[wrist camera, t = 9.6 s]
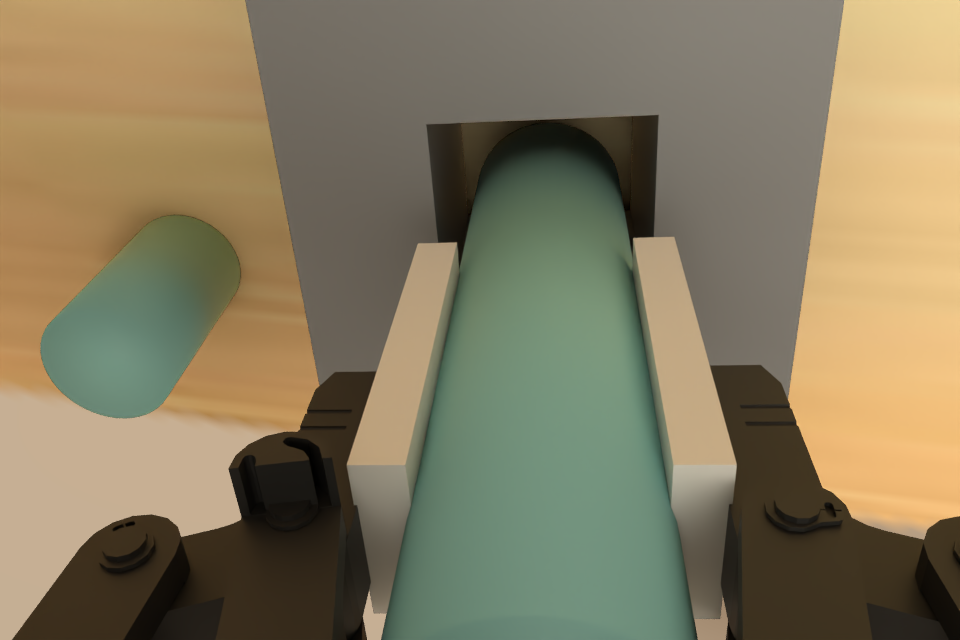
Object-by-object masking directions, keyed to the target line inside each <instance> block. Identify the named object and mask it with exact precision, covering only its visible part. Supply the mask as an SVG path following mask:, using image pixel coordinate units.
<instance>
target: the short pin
mask: <svg viewBox="0 0 960 640" xmlns="http://www.w3.org/2000/svg"><path fill="white" fill-rule="evenodd" d="M240 277H241V270H240V264H239V260H238V257H237V255H236V253H235V251H234V249H233V247H232V246H231V244H230V243H229V242H228V240H227V239H226V238H225V237H224V236H223V235H222V234H221V233H220V232H219V231H217V230H216V229H215V228H213V227H212V226H210V225H209V224H207V223H205V222H203V221H201V220H198V219H196V218H192V217H188V216H182V215H170V216H164V217H160V218H157V219H155V220H153V221H151V222H150V223H148V224H147V225H146V226H144V227H143V228H142V229H141V230H140V231H139V233H138V234H137V235H136V236H135V237H134V238H133V239H132V240H131V241H130V242H129V243H128V244H127V245H126V246H125V247H124V248H123V249H122V250H121V251H120V252H119V253H118V254H117V255H116V256H115V257H114V258H113V259H112V260H111V261H110V262H109V263H108V264H107V265H106V266H105V267H104V268H103V269H102V270H101V271H100V272H99V273H98V274H97V275H96V276H95V277H94V278H93V279H92V280H91V281H90V282H89V283H88V284H87V286H86V287H85V288H84V289H83V290H82V291H81V292H80V293H79V294H78V295H77V296H76V297H75V298H74V299H73V300H72V301H71V302H70V303H69V304H68V305H67V306H66V307H65V308H64V309H63V310H62V311H61V312H60V313H59V314H58V315H57V316H56V317H55V318H54V319H53V320H52V321H51V322H50V324H49V325H48V326H47V327H46V329H45V331H44V333H43V336H42V339H41V358H42V361H43V365H44V367H45V370H46V372H47V374H48V375H49V377H50V379H51V380H52V382H53V383H54V384H55V385H56V387H57V388H58V389H59V390H60V391H61V392H62V393H63V394H64V395H65V396H67V397H68V398H69V399H70V400H72V401H73V402H75V403H76V404H78V405H79V406H81V407H83V408H85V409H87V410H89V411H91V412H94V413H97V414H100V415H103V416H108V417H113V418H134V417H139V416H143V415H146V414H148V413H150V412H152V411H154V410H155V409H157V408H158V407H159V406H160V405H161V404H162V403H163V402H164V401H165V399H166V398H167V397H168V395H169V394H170V392H171V390H172V389H173V387H174V386H175V384H176V383H177V381H178V380H179V378H180V377H181V375H182V374H183V372H184V371H185V369H186V368H187V366H188V365H189V363H190V362H191V360H192V359H193V357H194V356H195V354H196V352H197V351H198V349H199V348H200V346H201V345H202V343H203V342H204V340H205V339H206V337H207V336H208V334H209V333H210V331H211V330H212V328H213V327H214V325H215V324H216V322H217V321H218V319H219V318H220V316H221V315H222V313H223V311H224V310H225V308H226V307H227V305H228V304H229V302H230V301H231V299H232V298H233V296H234V295H235V293H236V291H237V289H238V287H239V283H240Z"/></svg>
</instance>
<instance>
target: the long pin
mask: <svg viewBox="0 0 960 640" xmlns="http://www.w3.org/2000/svg"><path fill="white" fill-rule="evenodd" d="M632 265H633V258H632V252H631V246H630V241H629V235H628V229H627V223H626V217H625V211H624V205H623V200H622V194H621V188H620V182H619V177H618V172H617V169H616V166H615V164H614V162H613V160H612V158H611V156H610V155H609V153H608V152H607V150H606V149H605V148H604V147H603V146H602V145H601V144H600V143H599V142H598V141H597V140H596V139H595V138H593V137H592V136H591V135H589V134H587V133H586V132H584V131H582V130H580V129H577V128H575V127H572V126H568V125H564V124H558V123H542V124H535V125H531V126H527V127H524V128H521V129H519V130H517V131H515V132H513V133H511V134H509V135H508V136H507V137H505V138H504V139H502V140H501V141H500V142H499V143H498V144H497V145H496V146H495V147H494V148H493V150H492V151H491V152H490V153H489V155H488V156H487V158H486V160H485V162H484V164H483V166H482V168H481V172H480V175H479V179H478V184H477V189H476V194H475V198H474V203H473V208H472V213H471V217H470V222H469V227H468V232H467V236H466V241H465V246H464V250H463V255H462V260H461V265H460V269H459V272H460V275H459V280H458V284H457V289H456V294H455V299H454V304H453V308H452V313H451V318H450V323H449V327H448V332H447V337H446V342H445V347H444V351H443V356H442V361H441V366H440V370H439V375H438V380H437V385H436V390H435V394H434V399H433V404H432V409H431V413H430V418H429V423H428V428H427V432H426V437H425V442H424V447H423V452H422V456H421V461H420V466H419V471H418V475H417V480H416V485H415V490H414V495H413V499H412V504H411V507H410V510H409V514H408V517H407V520H406V525H405V530H404V534H403V539H402V544H401V549H400V553H399V558H398V563H397V567H396V572H395V577H394V582H393V586H392V591H391V596H390V601H389V605H388V610H387V615H386V619H385V625H384V629H383V634H382V639H381V640H698V639H697V633H696V627H695V622H694V615H693V609H692V604H691V598H690V592H689V586H688V580H687V574H686V568H685V563H684V557H683V551H682V545H681V539H680V534H679V529H678V524H677V520H676V518H675V515H674V513H673V510H672V508H671V504H670V498H669V492H668V486H667V480H666V474H665V468H664V461H663V455H662V449H661V443H660V437H659V431H658V425H657V419H656V413H655V407H654V400H653V394H652V388H651V382H650V376H649V370H648V364H647V358H646V352H645V346H644V339H643V333H642V327H641V321H640V315H639V309H638V303H637V297H636V291H635V284H634V278H633V272H632Z"/></svg>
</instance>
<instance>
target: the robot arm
mask: <svg viewBox="0 0 960 640" xmlns="http://www.w3.org/2000/svg"><path fill="white" fill-rule="evenodd" d="M632 272H633V278H634V284H635V291H636V297H637V303H638V309H639V315H640V321H641V327H642V333H643V339H644V346H645V352H646V358H647V364H648V370H649V376H650V382H651V388H652V394H653V400H654V407H655V413H656V419H657V425H658V431H659V437H660V443H661V449H662V455H663V461H664V468H665V474H666V480H667V486H668V492H669V498H670V504H671V508H672V510H673V513H674V515H675V518H676V520H677V524H678V529H679V534H680V539H681V545H682V551H683V557H684V563H685V568H686V574H687V580H688V586H689V592H690V598H691V604H692V609H693V615H694V619H720V616H721V606H722V597H723V598H724V602H725V607H726V612H727V617H728V626H727V636H726V640H960V516H959V517H953V518H948V519H943V520H940V521H938V522H937V523H936V524H934V525H933V526H931V527H930V528H929V529H928V530H927V533H926V536H925V539H924V540H922V539H918V538H914V537H909V536H905V535H901V534H896V533H892V532H888V531H884V530H881V529H877V528H874V527H871V526H868V525H866V524H863V523H861V522H859V521H857V520H855V519H853V518H852V517H851V515H850V513H849V511H848V509H847V507H846V505H845V504H844V503H843V502H842V501H841V500H840V499H839V498H837V497H836V496H835V495H834V494H833V493H832V492H830V491H828V490H826V489H824V488H822V486H821V483H820V480H819V478H818V475H817V473H816V470H815V468H814V465H813V463H812V460H811V458H810V455H809V452H808V450H807V447H806V445H805V442H804V440H803V437H802V435H801V432H800V429H799V427H798V426H797V425H796V419H795V417H794V414H793V412H792V409H791V408H790V404H789V401H788V399H787V396H786V394H785V391H784V389H783V386H782V384H781V382H779V381H778V380H777V379H776V378H775V377H774V376H773V375H772V374H770V373H769V372H768V371H767V370H766V369H765V368H764V367H763V366H762V365H709V361H708V358H707V354H706V351H705V347H704V343H703V340H702V336H701V332H700V329H699V325H698V321H697V318H696V314H695V311H694V307H693V303H692V300H691V296H690V292H689V289H688V285H687V281H686V278H685V274H684V271H683V267H682V263H681V260H680V256H679V252H678V249H677V245H676V241H675V238H674V237H646V238H633V265H632ZM459 275H460V272H459V260H458V249H457V242H455V243H418V245H417V248H416V251H415V254H414V257H413V260H412V263H411V267H410V270H409V273H408V276H407V279H406V282H405V285H404V288H403V291H402V295H401V298H400V301H399V304H398V307H397V310H396V313H395V316H394V319H393V323H392V326H391V329H390V332H389V335H388V338H387V341H386V344H385V347H384V350H383V354H382V357H381V360H380V363H379V366H378V369H377V371H369V372H334V373H333V374H332V375H331V376H330V377H329V378H328V379H327V380H326V381H325V382H323V383H322V384H321V385H320V386H319V387H318V388H317V389H316V390H315V392H314V395H313V397H312V400H311V402H310V404H309V407H308V409H307V414H305V416H304V419H303V421H302V423H301V426H300V430H299V431H298V432H282V433H278V434H273V435H269V436H265V437H263V438H261V439H259V440H257V441H255V442H253V443H251V444H249V445H247V446H246V448H244V449H243V450H242V451H240V452H239V453H238V454H237V455H236V456H235V458H234V460H233V461H232V463H231V465H230V467H229V472H230V476H231V479H232V483H233V487H234V491H235V494H236V498H237V502H238V505H239V509H240V513H241V516H242V518H241V520H240V521H238V522H236V523H234V524H231V525H228V526H225V527H221V528H218V529H214V530H210V531H206V532H201V533H197V534H193V535H189V536H184V537H181V536H180V533H179V529H178V527H177V526H176V525H175V524H173V522H171V521H170V520H169V519H168V518H164V517H160V516H156V515H141V516H132V517H129V518H126V519H123V520H120V521H116V522H114V523H112V524H110V525H108V526H106V527H105V528H103V529H101V530H100V531H98V532H96V533H95V534H94V535H93V536H92V537H90V538H89V539H88V541H86V543H84V545H82V546H81V548H80V549H79V550H78V552H77V553H76V554H75V556H74V557H73V558H72V560H71V561H70V562H69V564H68V565H67V566H66V568H65V569H64V570H63V572H62V573H61V574H60V576H59V577H58V578H57V580H56V581H55V583H54V584H53V585H52V587H51V588H50V589H49V591H48V592H47V593H46V595H45V596H44V597H43V599H42V600H41V602H40V603H39V604H38V606H37V607H36V608H35V610H34V611H33V612H32V614H31V615H30V616H29V618H28V619H27V620H26V622H25V623H24V625H23V626H22V627H21V629H20V630H19V631H18V633H17V634H16V635H15V637H14V638H13V639H12V640H367V637H366V632H365V626H364V622H363V613H364V608H365V604H366V600H367V596H368V592H369V590H370V596H371V601H372V607H373V612H374V613H387V610H388V605H389V601H390V596H391V591H392V586H393V582H394V577H395V572H396V567H397V563H398V558H399V553H400V549H401V544H402V539H403V534H404V530H405V525H406V520H407V517H408V514H409V510H410V507H411V504H412V499H413V495H414V490H415V485H416V480H417V475H418V471H419V466H420V461H421V456H422V452H423V447H424V442H425V437H426V432H427V428H428V423H429V418H430V413H431V409H432V404H433V399H434V394H435V390H436V385H437V380H438V375H439V370H440V366H441V361H442V356H443V351H444V347H445V342H446V337H447V332H448V327H449V323H450V318H451V313H452V308H453V304H454V299H455V294H456V289H457V284H458V280H459Z"/></svg>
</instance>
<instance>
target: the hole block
mask: <svg viewBox="0 0 960 640" xmlns="http://www.w3.org/2000/svg"><path fill="white" fill-rule="evenodd" d="M245 1H246V6H247V12H248V17H249V22H250V27H251V32H252V37H253V43H254V48H255V53H256V58H257V63H258V69H259V74H260V79H261V84H262V89H263V94H264V100H265V105H266V110H267V115H268V120H269V126H270V131H271V136H272V141H273V146H274V152H275V157H276V162H277V167H278V172H279V177H280V183H281V188H282V193H283V198H284V203H285V209H286V214H287V219H288V224H289V229H290V234H291V240H292V245H293V250H294V255H295V260H296V266H297V271H298V276H299V281H300V286H301V292H302V297H303V302H304V307H305V312H306V317H307V323H308V328H309V333H310V338H311V343H312V349H313V354H314V359H315V364H316V369H317V374H318V380H319V385H321V384H322V383H323V382H325V381H326V380H327V379H328V378H329V377H330V376H331V375H332V374H333V373H334V372H369V371H377V369H378V366H379V363H380V360H381V357H382V354H383V350H384V347H385V344H386V341H387V338H388V335H389V332H390V329H391V326H392V323H393V319H394V316H395V313H396V310H397V307H398V304H399V301H400V298H401V295H402V291H403V288H404V285H405V282H406V279H407V276H408V273H409V270H410V267H411V263H412V260H413V257H414V254H415V251H416V248H417V245H418V243H455V242H457V249H458V260H459V269H460V265H461V260H462V255H463V250H464V246H465V241H466V236H467V232H468V227H469V222H470V217H471V215H468V206H467V194H466V181H465V168H464V155H463V142H462V129H461V123H473V122H498V121H522V120H547V119H571V118H596V117H620V116H633V121H632V161H631V202H630V210H625V217H626V223H627V229H628V235H629V241H630V246H631V252H632V258H633V238H646V237H674V238H675V241H676V245H677V249H678V252H679V256H680V260H681V263H682V267H683V271H684V274H685V278H686V281H687V285H688V289H689V292H690V296H691V300H692V303H693V307H694V311H695V314H696V318H697V321H698V325H699V329H700V332H701V336H702V340H703V343H704V347H705V351H706V354H707V358H708V361H709V365H762V366H763V367H764V368H765V369H766V370H767V371H768V372H769V373H770V374H772V375H773V376H774V377H775V378H776V379H777V380H778V381H779V382H781V384H782V386H783V389H784V391H785V394H786V396H787V399H788V395H789V387H790V380H791V373H792V366H793V359H794V352H795V345H796V338H797V331H798V324H799V317H800V310H801V302H802V295H803V288H804V281H805V274H806V267H807V260H808V253H809V246H810V239H811V232H812V225H813V218H814V210H815V203H816V196H817V189H818V182H819V175H820V168H821V161H822V154H823V147H824V140H825V133H826V125H827V118H828V111H829V104H830V97H831V90H832V83H833V76H834V69H835V62H836V55H837V48H838V41H839V33H840V26H841V19H842V12H843V5H844V0H245Z"/></svg>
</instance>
